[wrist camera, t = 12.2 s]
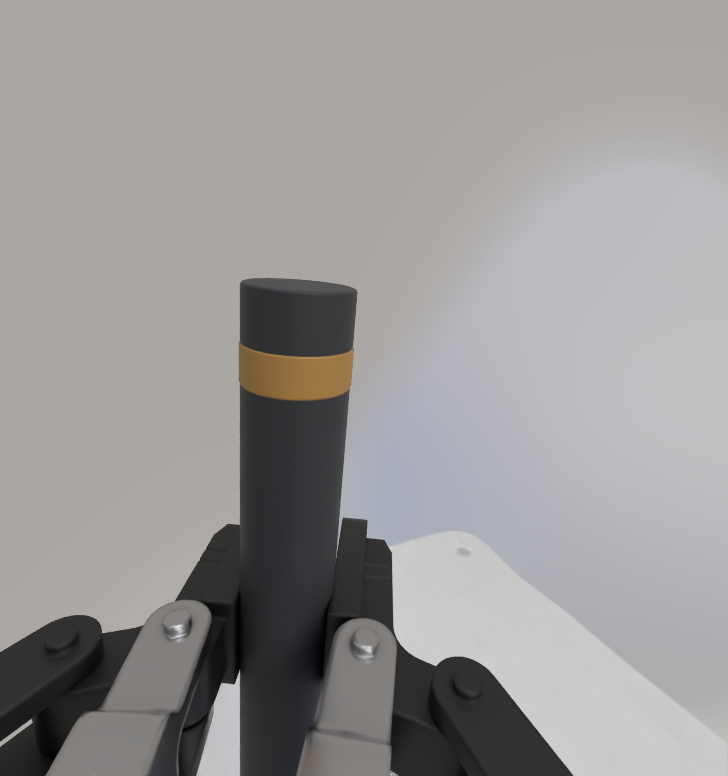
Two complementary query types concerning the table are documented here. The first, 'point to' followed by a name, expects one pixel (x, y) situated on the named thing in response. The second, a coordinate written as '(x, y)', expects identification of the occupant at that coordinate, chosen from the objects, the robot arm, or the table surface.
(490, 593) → the table surface
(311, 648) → the marker pen
